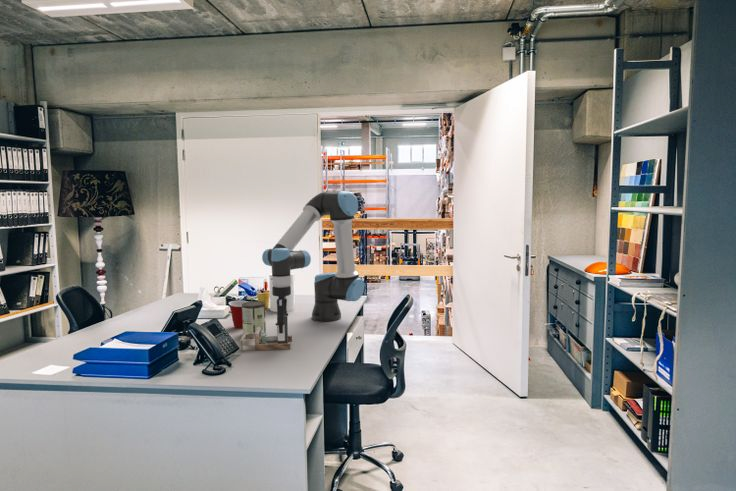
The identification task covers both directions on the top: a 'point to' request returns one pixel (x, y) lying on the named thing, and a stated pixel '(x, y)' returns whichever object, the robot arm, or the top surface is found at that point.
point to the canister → (289, 298)
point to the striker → (277, 334)
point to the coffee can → (253, 316)
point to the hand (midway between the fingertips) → (282, 335)
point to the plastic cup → (237, 313)
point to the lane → (253, 344)
